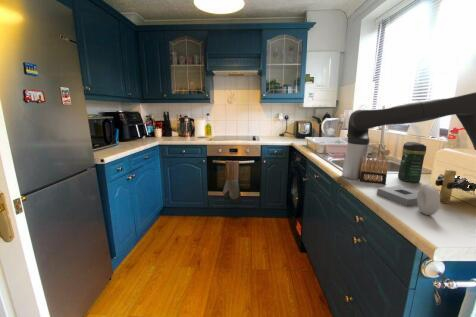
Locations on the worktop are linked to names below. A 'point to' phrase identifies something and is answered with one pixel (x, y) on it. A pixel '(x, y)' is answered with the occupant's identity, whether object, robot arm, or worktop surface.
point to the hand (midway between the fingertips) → (442, 184)
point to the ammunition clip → (376, 172)
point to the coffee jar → (412, 161)
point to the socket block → (399, 194)
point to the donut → (428, 199)
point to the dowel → (446, 193)
